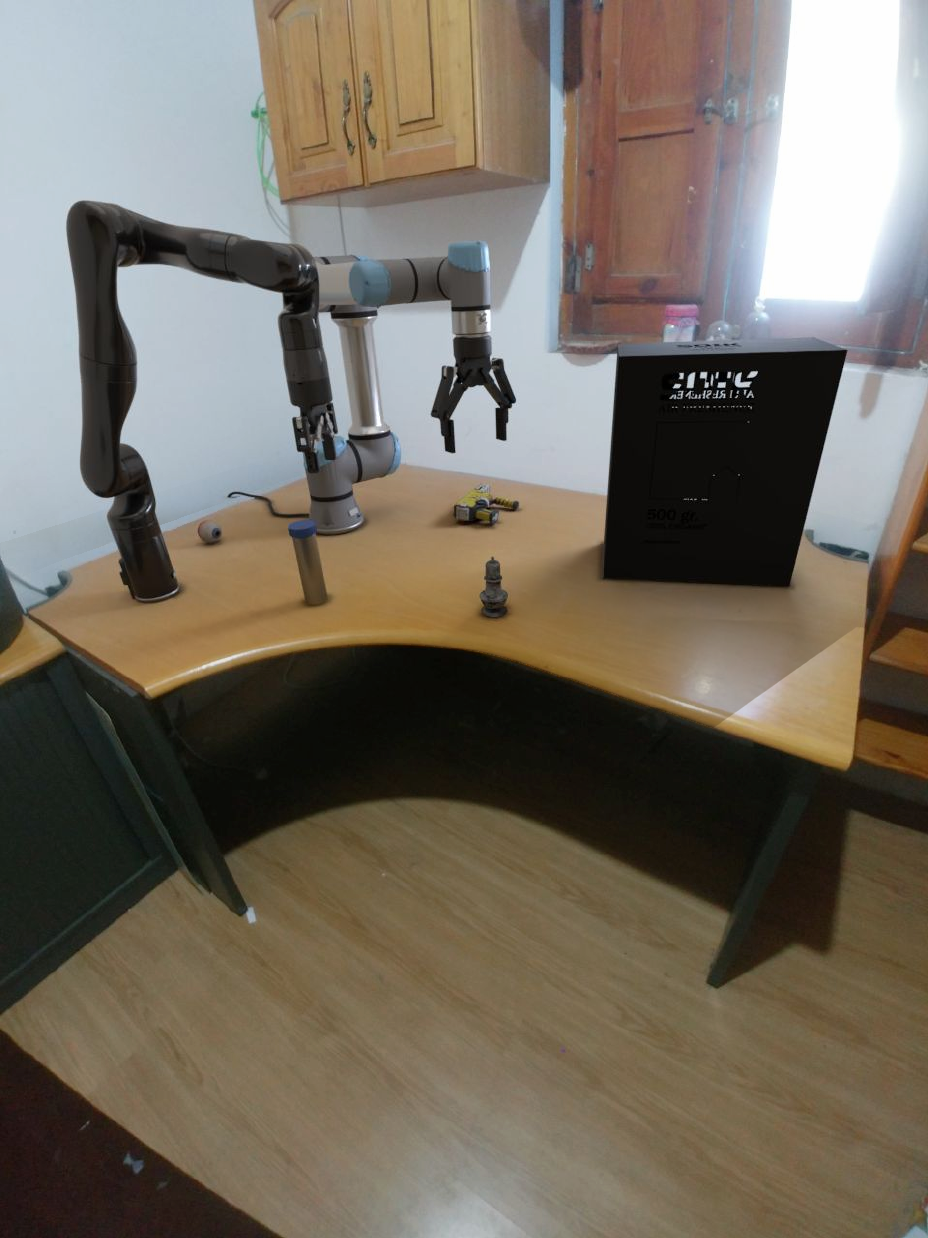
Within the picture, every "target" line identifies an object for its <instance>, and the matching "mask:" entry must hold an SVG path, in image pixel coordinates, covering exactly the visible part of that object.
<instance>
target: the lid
mask: <svg viewBox="0 0 928 1238" xmlns="http://www.w3.org/2000/svg"><path fill="white" fill-rule="evenodd" d="M287 530H288V536H289V537H291V538H292V537H294V538H305V537H309V536H312V535H314V534H315V533H316V532H317V527H316V524H315V522H314V521H312V520H309V519H300V520H295V521H292V522H290V523H289V524H288V525H287ZM316 534H317V533H316Z"/></svg>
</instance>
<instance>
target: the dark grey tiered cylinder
mask: <svg viewBox="0 0 928 1238" xmlns="http://www.w3.org/2000/svg"><path fill="white" fill-rule="evenodd" d="M483 579H484V581H485V589H484V590H482V591H480V593H479V594H478V597H479V600H480V601H481V604H482V605H483V606H482V608H481V609H480V610H481V614H482V615H484V616H485V617H490V618H497V617H498V618H499V617H502V616H504V615H506V614H507V612H508V607H507V606H505V605H506V603H507V601H508V600H507V599H508V598H509V593H508V591H506V590H505V589H504V588H502V580H503V576H502V575H501V563H500V562H499V560H496V559H495V557H494V556H493V555H492V556H491V557H490V559H489V560H488V561H486V562H485V575H484V576H483Z"/></svg>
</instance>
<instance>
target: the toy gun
mask: <svg viewBox="0 0 928 1238" xmlns="http://www.w3.org/2000/svg"><path fill="white" fill-rule="evenodd" d="M493 505H495V506H500V507H504V508H510V509H512V510H514V511H516V510H518V509H519V507H520V502H519V501H518V500H512V499H508V498H504V497H500V496H496V497H495V498H493V496H492V494H491V485H490V484H488V483H486V484H485V483H482V482H481V483H480V484H479V485H477V486H476V487H475V488H473V489H471V491H469V492H468V493H467V494H465V496H464V497H462V498H461V499H460V500H459V501H458V502H456V503H455V504H454V505H453V511H452V513H453V514H452V517H453V518H454V519H455V520H457V522H462V523H464V522H465V521H467V522H471V521H477V520H482V521H483V520H484V521H486V522H489V525H492V526H493V524H495V523H497V522H498V521H499V515H500V509H498V508H494V510H493V509H492V507H491V506H493Z"/></svg>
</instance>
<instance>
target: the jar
mask: <svg viewBox="0 0 928 1238" xmlns="http://www.w3.org/2000/svg"><path fill="white" fill-rule="evenodd" d="M291 539H292V540H291V541H292V544H293V548H294V555H295V559H296V563H297V569H298V574H299V578H300V583H301V587H302V592H303V597H304V602H305V604H306V605H308V606H319V605H323V604H325V603H326V602H328V599H329V598H328V592H327V588H326V582H325V577H324V571H323V565H322V561H321V555H320V549H319V544H318V539H317V533H315V534H314V535H312V536H309V537H305V538H294V537H291Z"/></svg>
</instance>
